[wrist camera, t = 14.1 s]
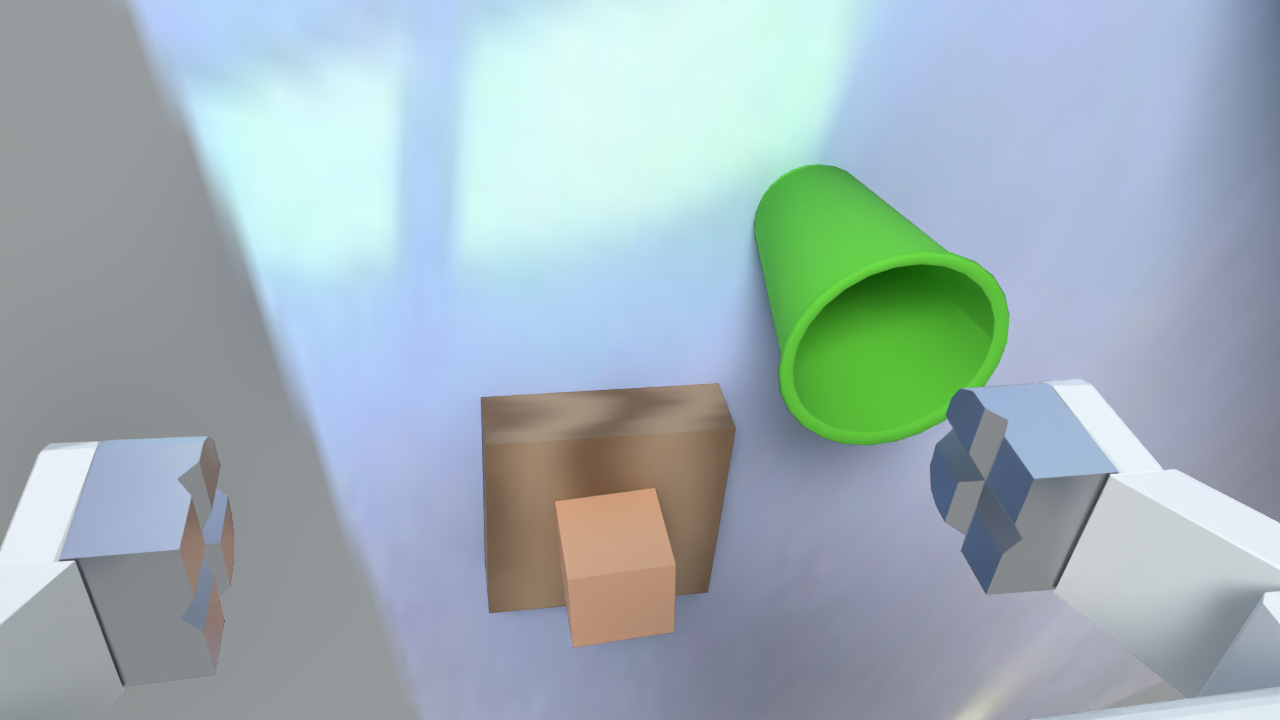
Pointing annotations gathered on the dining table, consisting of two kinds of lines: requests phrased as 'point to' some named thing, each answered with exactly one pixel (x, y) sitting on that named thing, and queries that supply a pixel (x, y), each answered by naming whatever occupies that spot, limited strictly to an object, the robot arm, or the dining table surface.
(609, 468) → the base slab
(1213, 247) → the dining table surface
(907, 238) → the cup
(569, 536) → the cube
